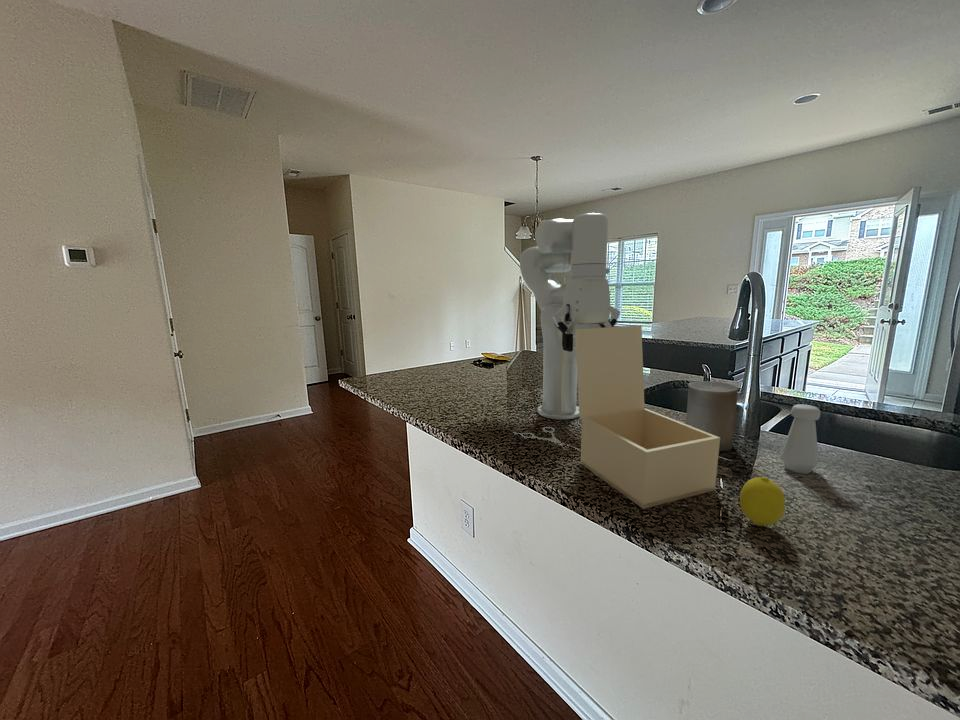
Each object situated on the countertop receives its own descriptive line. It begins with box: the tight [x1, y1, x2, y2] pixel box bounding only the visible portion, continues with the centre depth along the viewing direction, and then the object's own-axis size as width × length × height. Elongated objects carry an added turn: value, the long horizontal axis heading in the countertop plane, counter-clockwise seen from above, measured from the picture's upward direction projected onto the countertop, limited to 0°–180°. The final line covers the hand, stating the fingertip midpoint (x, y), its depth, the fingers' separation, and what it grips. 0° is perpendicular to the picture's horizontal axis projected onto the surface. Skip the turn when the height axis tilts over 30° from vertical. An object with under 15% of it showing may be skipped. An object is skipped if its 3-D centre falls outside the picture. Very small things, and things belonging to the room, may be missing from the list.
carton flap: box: [574, 324, 646, 419], centre depth 85 cm, size 18×16×8 cm
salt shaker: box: [780, 403, 821, 475], centre depth 76 cm, size 6×6×13 cm
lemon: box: [739, 476, 786, 527], centre depth 59 cm, size 6×6×8 cm
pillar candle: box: [685, 380, 739, 452], centre depth 89 cm, size 10×10×15 cm
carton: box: [580, 407, 720, 510], centre depth 74 cm, size 18×16×10 cm
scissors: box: [512, 426, 581, 457], centre depth 93 cm, size 11×1×20 cm
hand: (585, 349), depth 90 cm, fingers open, 9 cm apart
